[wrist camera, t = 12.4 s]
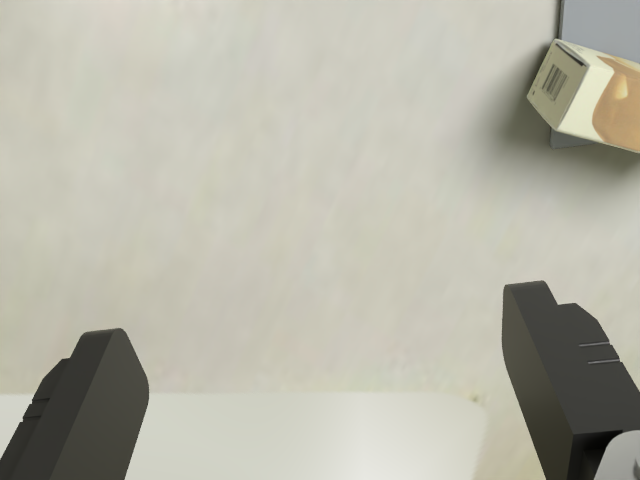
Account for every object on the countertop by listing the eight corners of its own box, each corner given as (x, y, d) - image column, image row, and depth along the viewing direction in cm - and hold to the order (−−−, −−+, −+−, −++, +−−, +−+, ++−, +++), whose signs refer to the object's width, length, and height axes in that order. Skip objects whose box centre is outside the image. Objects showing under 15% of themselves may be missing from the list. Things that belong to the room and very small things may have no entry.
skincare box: (551, 35, 37) (712, 80, 39) (522, 97, 40) (674, 138, 42) (593, 65, 32) (776, 116, 34) (556, 135, 34) (729, 179, 36)
